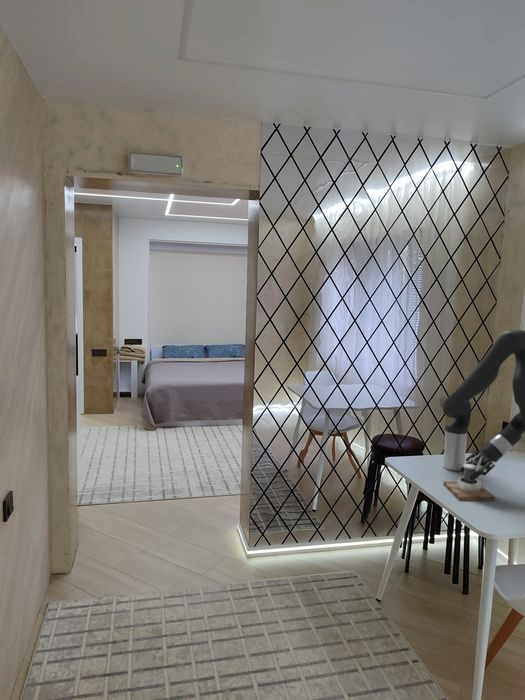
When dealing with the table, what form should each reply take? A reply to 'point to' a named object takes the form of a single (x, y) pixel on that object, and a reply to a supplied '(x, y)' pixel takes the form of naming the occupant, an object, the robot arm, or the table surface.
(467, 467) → the white capped grey cylinder
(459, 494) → the mount board
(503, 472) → the table surface
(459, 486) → the faceted white ring
